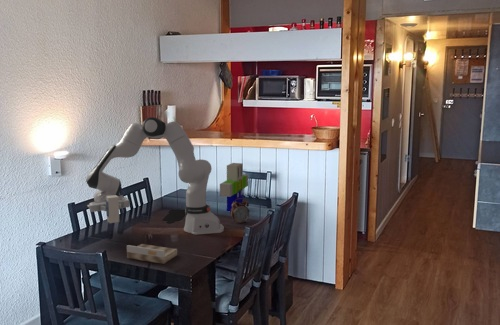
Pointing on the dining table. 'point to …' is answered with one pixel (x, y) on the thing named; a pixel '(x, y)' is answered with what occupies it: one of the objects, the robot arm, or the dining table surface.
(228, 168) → the toy
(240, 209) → the alarm clock
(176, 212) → the toy
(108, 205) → the carton
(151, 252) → the beige flat block
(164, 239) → the dining table surface
